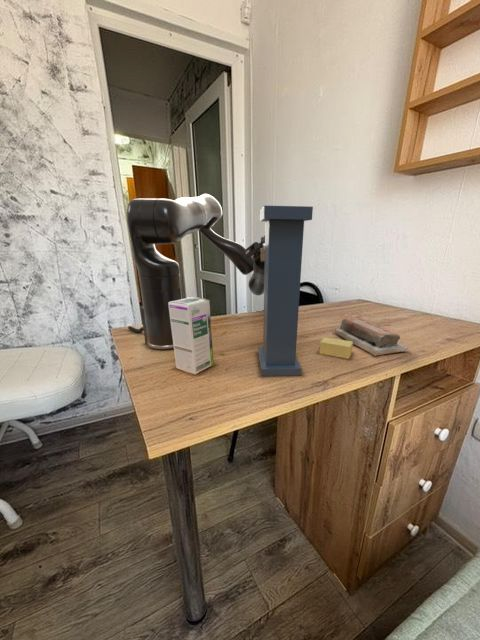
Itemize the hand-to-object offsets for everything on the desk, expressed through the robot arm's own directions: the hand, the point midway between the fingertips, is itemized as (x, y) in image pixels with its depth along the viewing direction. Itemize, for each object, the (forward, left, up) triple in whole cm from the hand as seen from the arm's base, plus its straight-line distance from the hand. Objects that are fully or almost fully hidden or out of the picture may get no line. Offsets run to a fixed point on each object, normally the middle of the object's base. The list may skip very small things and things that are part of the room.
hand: (269, 238), depth 81 cm
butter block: (+24, -12, -25) cm, 37 cm away
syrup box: (-1, -34, -26) cm, 42 cm away
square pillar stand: (+14, -24, -25) cm, 37 cm away
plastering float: (+30, 0, -26) cm, 39 cm away
